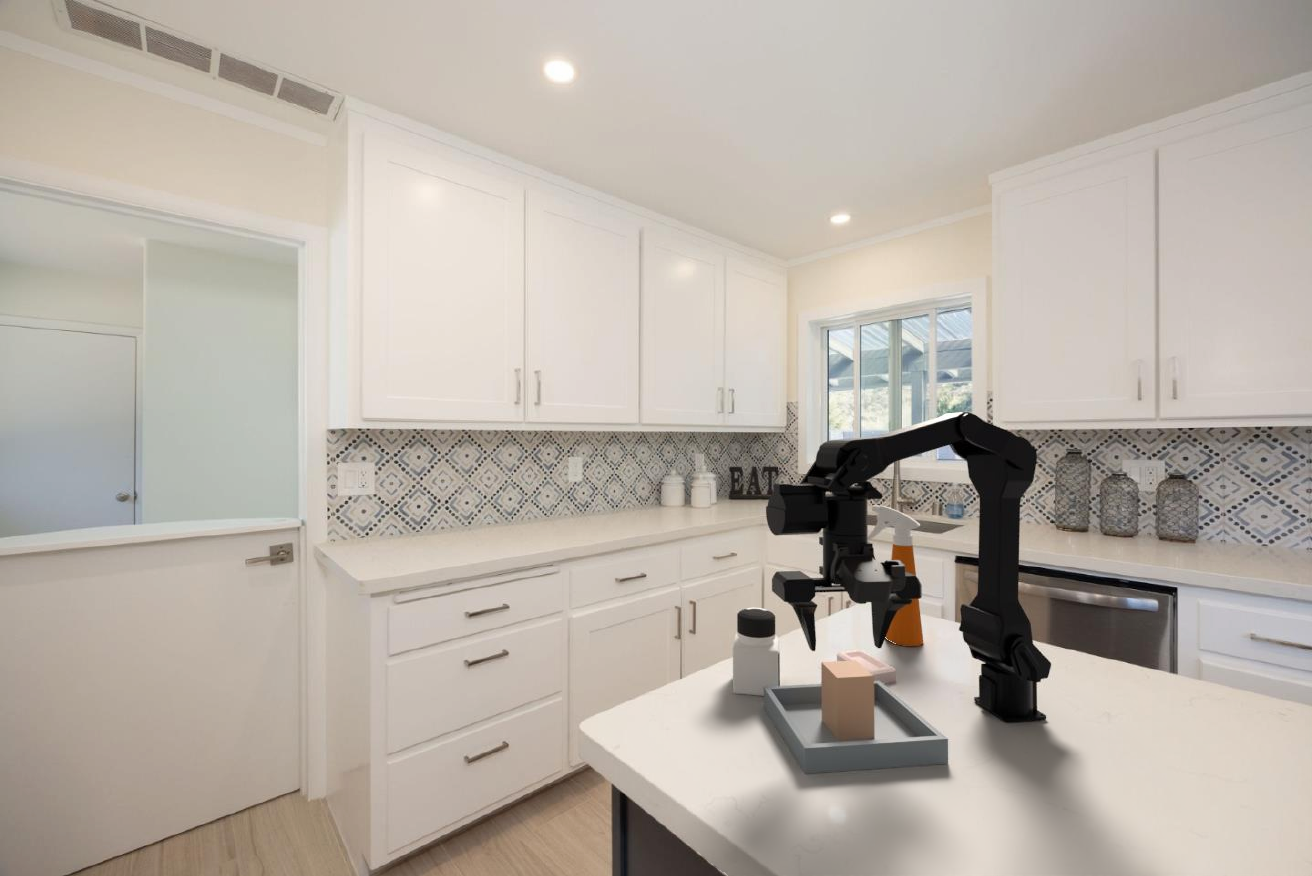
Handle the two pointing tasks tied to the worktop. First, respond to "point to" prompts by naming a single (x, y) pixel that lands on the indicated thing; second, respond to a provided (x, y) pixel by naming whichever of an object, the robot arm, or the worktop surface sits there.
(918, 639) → the spray bottle
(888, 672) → the soap bar
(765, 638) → the medicine bottle
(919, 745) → the tray
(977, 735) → the worktop surface
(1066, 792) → the worktop surface
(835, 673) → the carton
